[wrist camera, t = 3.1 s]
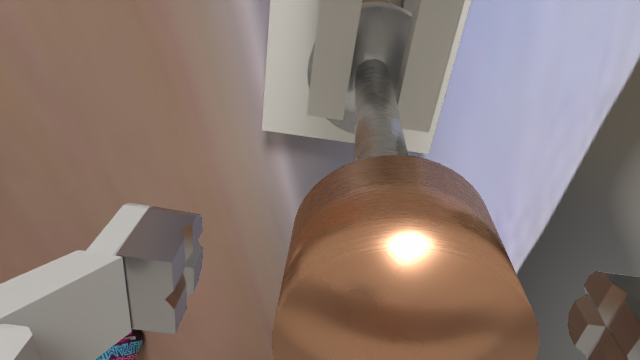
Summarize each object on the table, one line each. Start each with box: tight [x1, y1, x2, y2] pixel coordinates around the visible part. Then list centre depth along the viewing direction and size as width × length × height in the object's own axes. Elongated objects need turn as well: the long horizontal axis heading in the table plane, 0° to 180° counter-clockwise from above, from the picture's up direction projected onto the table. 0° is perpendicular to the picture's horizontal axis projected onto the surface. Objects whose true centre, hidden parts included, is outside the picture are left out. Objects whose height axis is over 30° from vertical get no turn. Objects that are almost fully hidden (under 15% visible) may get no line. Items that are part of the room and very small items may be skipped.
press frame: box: [262, 0, 471, 154], centre depth 21 cm, size 20×14×30 cm
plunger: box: [272, 1, 539, 360], centre depth 15 cm, size 6×6×17 cm
